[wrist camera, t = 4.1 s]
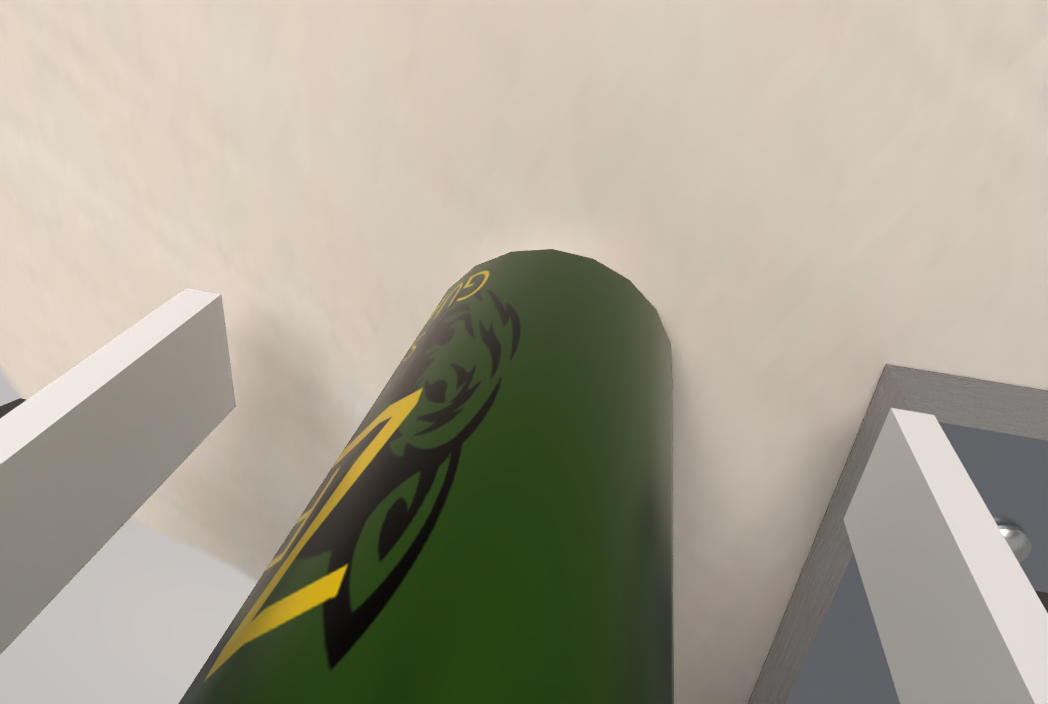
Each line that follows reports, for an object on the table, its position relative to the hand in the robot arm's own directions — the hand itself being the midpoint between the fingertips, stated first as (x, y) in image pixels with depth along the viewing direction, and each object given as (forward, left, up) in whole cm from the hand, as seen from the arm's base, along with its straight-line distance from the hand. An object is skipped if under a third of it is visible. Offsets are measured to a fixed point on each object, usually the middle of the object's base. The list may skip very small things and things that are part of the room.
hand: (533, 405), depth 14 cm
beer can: (0, 0, -2) cm, 3 cm away
